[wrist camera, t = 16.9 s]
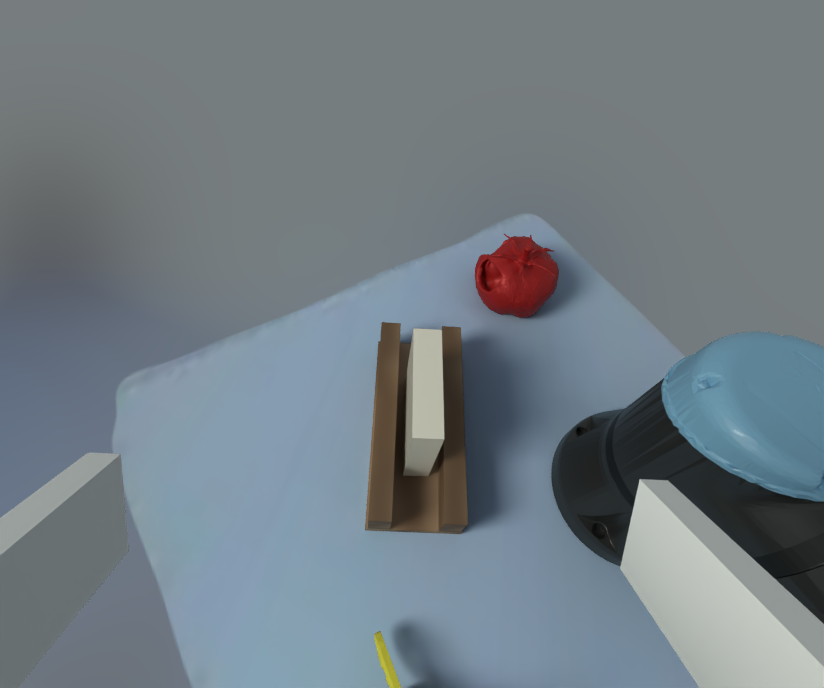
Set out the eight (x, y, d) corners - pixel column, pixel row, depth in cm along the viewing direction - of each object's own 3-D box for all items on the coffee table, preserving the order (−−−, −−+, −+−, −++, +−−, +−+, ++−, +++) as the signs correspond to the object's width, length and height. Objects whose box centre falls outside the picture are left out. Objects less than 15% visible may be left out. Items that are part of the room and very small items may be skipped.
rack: (455, 350, 54) (463, 327, 49) (460, 534, 43) (470, 525, 39) (378, 345, 53) (379, 322, 49) (365, 530, 43) (364, 520, 39)
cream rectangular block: (427, 384, 50) (441, 329, 41) (428, 476, 45) (444, 439, 36) (404, 382, 50) (413, 328, 41) (402, 475, 45) (412, 437, 35)
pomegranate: (551, 279, 61) (581, 228, 53) (536, 337, 56) (566, 291, 48) (481, 254, 62) (500, 200, 54) (459, 309, 57) (476, 259, 49)
